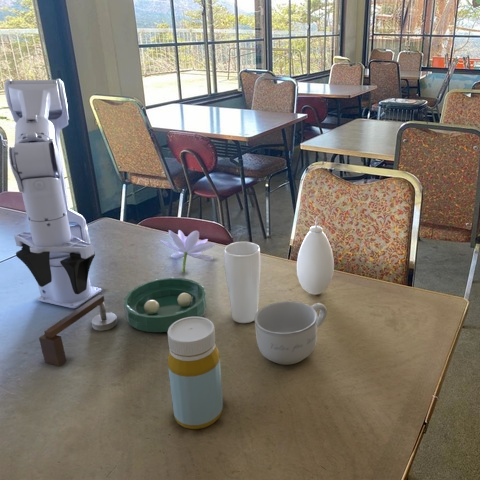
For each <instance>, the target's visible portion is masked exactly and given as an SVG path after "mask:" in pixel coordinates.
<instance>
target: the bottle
mask: <svg viewBox="0 0 480 480" xmlns="http://www.w3.org/2000/svg"><path fill="white" fill-rule="evenodd" d="M167 341H168V342H167V343H168V347H169V350H168V351H169V354H168V357H167V368H168V369H167V370H168V379H169V385H170V392H171V402H172V410H173V416H174V420H175V422H176V423H177V424H178V425H179V426H181V427H183V428H185V429H189V430H201V429H205V428H208V427H209V426H212V425H213V424H214V423H215V422H216V421H217V420H218V419H220V417H221V415H222V414H223V410H224V400H223V386H222V372H221V371H222V370H221V359H220V358H221V356H220V351H219V349H218V346H217V345H216V331H215V325H214V323H213V321H211V319H209V318H207V317H203V316H202V317H186V318H183V319H180V320H178V321H176V322H174V323H173V324H172V325H171V326H170V327H169V329H168V331H167Z"/></svg>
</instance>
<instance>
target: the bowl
mask: <svg viewBox="0 0 480 480" xmlns="http://www.w3.org/2000/svg"><path fill="white" fill-rule="evenodd" d="M182 293H188V294H190V296H191V297H192V302H191V304H190V305H189V306H187V307H182V306H180V305H179V304H178V301H177V299H178V296H179V295H180V294H182ZM123 299H124V300H123V309H124V315H125V320H126V321H127V323H128V324H129V325H130V326H131V327H133V328H134V329H136V330H138V331H143V332H148V333H167V332H168V329H169V327H170V326H171V325H172V324H173V323H174V322H176V321H178V320H180V319H183V318H186V317H203V316H204V315H205V314H206V311H207V308H208V304H207V293H206V290H205V287H204V286H203V285H201V283H200V282H197V281H195V280H193V279H189V278H184V277H167V278H158V279H154V280H150V281H147V282H145V283H142V284H140V285H138V286H135V287H134V288H133V289H132V290H130V291H129V292H128V293H127V294H126V296H125V297H124V298H123ZM149 300H155V301H157V302H158V304H159V310H158V312H157V313H155V314H148V313H146V312H145V310H144V305H145V303H146V302H147V301H149Z"/></svg>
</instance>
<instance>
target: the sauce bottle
mask: <svg viewBox="0 0 480 480" xmlns="http://www.w3.org/2000/svg"><path fill="white" fill-rule="evenodd" d="M318 224H319V223H318V215H316V216H315V222H314V225H313V226H310V227H309V231H308V232H307V234H306V235H305V236H304V238H303V240H302V243H301V245H300V248H299V250H298V254H297V260H296V275H297V278H298V279H297V280H298V282H299V285H300V286H301V288H302V289H303V291H305V292H307V293H308V294H310V295H314V296H317V295H320V294H322V293H323V292H325V291H326V290H327V289H328V287H329V285H330V284H331V282H332V279H333V276H334V270H335V259H334V252H333V249H332V246H331V243H330V240H329V239H328V237H327V235H326V233H325V232H324V231H323V227H322V226H320V225H318Z"/></svg>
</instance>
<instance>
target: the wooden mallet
mask: <svg viewBox="0 0 480 480" xmlns="http://www.w3.org/2000/svg"><path fill="white" fill-rule="evenodd" d="M97 307H98V310H99V313H98V314H97V315H95V316H93V318H92V319H91V322H90V323H91V326H92V329H93V330H95V331H97V332H98V331H101V332H102V331H108V330H110V329H113V328H114V327H115V326H117V324H118V318H117V314H115V313H113V312H107V311H106V305H105V296H104V295H101V294H96V295H95V296H93V297H92V298H90V299H89V300H87V301H86V303H85V302H84V303H83V304H82V305H80V306H79V307H77V308H76V309H75V310H74V311H72V312H71V313H69V314H68V315H66V316H65V317H63V318H62V319H60V320H59V321H57V322H56V323H54V324H52V325H51V326H50V327H48V328H47V329H46V330H44V334H43V335H41V336H39V337H38V340H39V344H40V348H41V352H42V356H43V360H44V363H46V364H50V365H53V366H57V367H61V366H62V365H63V364H64V363H65V362H67V357H66V353H65V348H64V344H63V339H62V336H61V335H58V334H60V333H62V332H63V331H65V329H67V328H69V327H70V326H72V325H73V324H74V323H76V322H77V321H78V320H80V319H81V318H83V317H84V316H86V315H87V314H89V313H90V312H92V311H93V310H94V309H96V308H97Z"/></svg>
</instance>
